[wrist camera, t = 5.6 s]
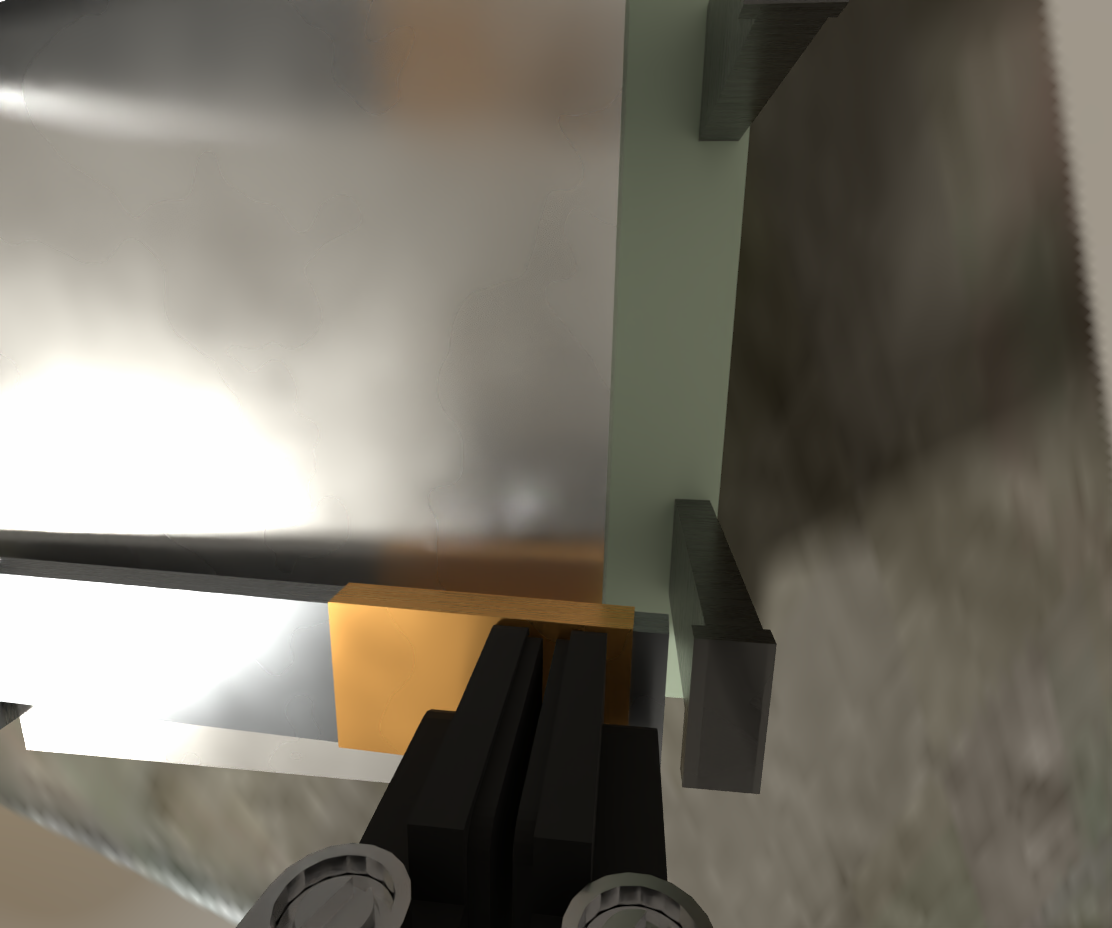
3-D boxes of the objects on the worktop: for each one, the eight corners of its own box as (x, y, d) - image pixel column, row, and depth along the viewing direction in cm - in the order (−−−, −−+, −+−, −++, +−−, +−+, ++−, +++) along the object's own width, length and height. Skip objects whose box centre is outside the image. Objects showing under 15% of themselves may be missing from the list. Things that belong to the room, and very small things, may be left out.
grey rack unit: (14, -77, 14) (-504, -394, 7) (764, -106, 12) (908, -527, 6) (125, 622, 18) (-150, 802, 11) (700, 663, 16) (747, 894, 10)
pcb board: (37, -91, 15) (-26, -133, 13) (758, -121, 13) (775, -171, 12) (145, 627, 19) (106, 654, 18) (696, 667, 18) (702, 699, 16)
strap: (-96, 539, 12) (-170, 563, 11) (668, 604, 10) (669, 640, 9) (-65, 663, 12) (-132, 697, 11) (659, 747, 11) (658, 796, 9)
